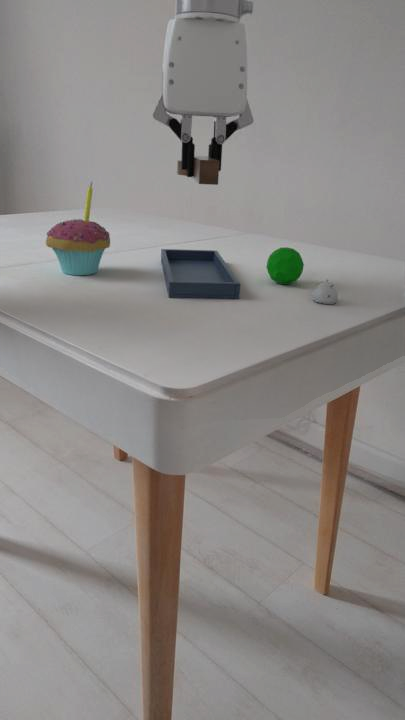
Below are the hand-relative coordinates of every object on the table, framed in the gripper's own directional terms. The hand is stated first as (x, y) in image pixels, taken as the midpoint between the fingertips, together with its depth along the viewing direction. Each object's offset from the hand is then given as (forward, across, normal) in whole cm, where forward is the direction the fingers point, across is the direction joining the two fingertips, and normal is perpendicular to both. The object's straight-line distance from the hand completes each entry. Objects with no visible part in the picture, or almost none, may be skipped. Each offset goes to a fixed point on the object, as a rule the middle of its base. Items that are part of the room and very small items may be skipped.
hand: (200, 175), depth 72 cm
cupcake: (+14, +16, -4) cm, 21 cm away
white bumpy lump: (+14, -15, +9) cm, 23 cm away
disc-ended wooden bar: (0, 0, 0) cm, 0 cm away
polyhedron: (+14, -12, 0) cm, 18 cm away
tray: (+14, 0, -2) cm, 14 cm away
